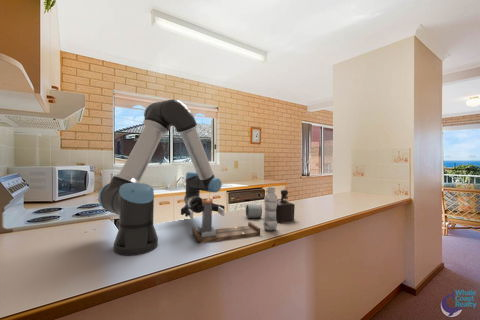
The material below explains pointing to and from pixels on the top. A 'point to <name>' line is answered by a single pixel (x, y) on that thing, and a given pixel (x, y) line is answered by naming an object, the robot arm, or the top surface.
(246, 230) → the fader track
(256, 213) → the ceramic mug
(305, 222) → the top surface
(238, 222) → the top surface
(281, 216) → the black block with knob
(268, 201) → the plastic bottle
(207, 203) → the grey upright piece
